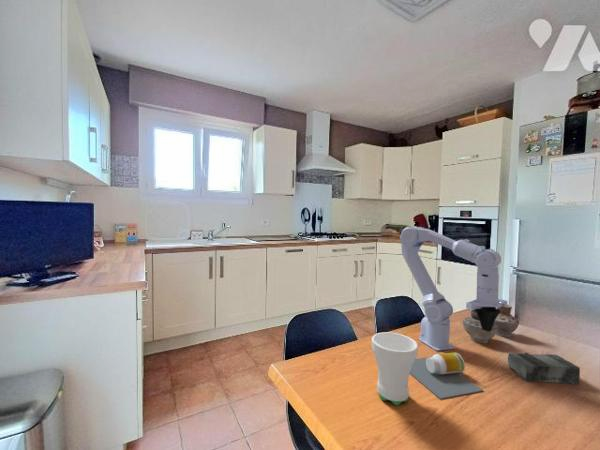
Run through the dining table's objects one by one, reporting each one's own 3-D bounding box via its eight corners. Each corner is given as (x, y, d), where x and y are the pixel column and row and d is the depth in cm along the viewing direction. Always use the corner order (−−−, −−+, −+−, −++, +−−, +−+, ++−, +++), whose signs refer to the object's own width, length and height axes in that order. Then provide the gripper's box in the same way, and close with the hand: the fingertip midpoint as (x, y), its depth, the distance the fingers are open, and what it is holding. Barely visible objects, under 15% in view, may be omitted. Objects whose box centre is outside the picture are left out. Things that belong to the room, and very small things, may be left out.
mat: (396, 362, 86) (396, 361, 86) (433, 357, 90) (433, 356, 90) (439, 399, 69) (439, 398, 69) (483, 391, 73) (483, 390, 73)
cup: (411, 418, 62) (413, 356, 62) (363, 400, 68) (365, 343, 68) (419, 392, 72) (421, 338, 71) (377, 378, 78) (378, 328, 77)
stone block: (504, 365, 87) (505, 349, 87) (553, 368, 86) (553, 352, 86) (525, 382, 78) (526, 364, 78) (580, 386, 77) (580, 367, 77)
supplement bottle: (457, 348, 82) (428, 351, 80) (468, 366, 78) (439, 369, 76) (449, 358, 85) (421, 361, 83) (460, 375, 81) (431, 379, 79)
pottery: (525, 338, 107) (527, 308, 107) (484, 349, 97) (486, 316, 96) (495, 327, 117) (496, 299, 117) (455, 336, 107) (456, 306, 107)
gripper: (480, 292, 81) (479, 337, 82) (517, 289, 85) (516, 332, 86) (461, 286, 88) (460, 328, 88) (495, 284, 92) (494, 324, 92)
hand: (486, 330), depth 87 cm, fingers closed
